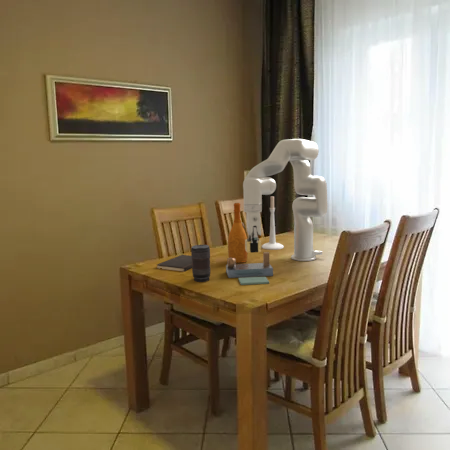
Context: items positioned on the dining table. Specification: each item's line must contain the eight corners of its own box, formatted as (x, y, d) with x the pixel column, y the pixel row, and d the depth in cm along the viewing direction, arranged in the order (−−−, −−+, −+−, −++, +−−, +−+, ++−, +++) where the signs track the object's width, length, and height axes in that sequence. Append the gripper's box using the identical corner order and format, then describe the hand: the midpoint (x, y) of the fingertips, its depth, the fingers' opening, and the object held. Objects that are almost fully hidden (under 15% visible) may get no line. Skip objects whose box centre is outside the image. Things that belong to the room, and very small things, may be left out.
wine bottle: (246, 264, 220) (245, 203, 215) (226, 263, 222) (225, 203, 217) (249, 259, 229) (248, 201, 225) (230, 258, 231) (229, 201, 227)
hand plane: (268, 269, 208) (268, 250, 207) (273, 275, 198) (272, 254, 197) (226, 271, 206) (225, 252, 205) (228, 277, 196) (228, 256, 195)
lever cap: (259, 249, 191) (259, 237, 190) (261, 251, 186) (261, 239, 185) (245, 249, 190) (245, 237, 189) (246, 252, 185) (246, 239, 184)
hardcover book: (156, 269, 216) (156, 264, 216) (182, 258, 236) (182, 254, 236) (184, 272, 209) (184, 268, 208) (208, 261, 229) (208, 257, 228)
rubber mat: (265, 278, 195) (265, 276, 194) (269, 283, 187) (269, 281, 187) (238, 279, 193) (238, 277, 193) (240, 285, 186) (240, 283, 185)
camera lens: (192, 277, 198) (190, 244, 196) (210, 276, 199) (209, 244, 196) (192, 282, 190) (191, 248, 188) (211, 282, 191) (210, 247, 188)
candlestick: (287, 246, 259) (287, 195, 255) (277, 250, 249) (277, 197, 244) (267, 244, 266) (267, 194, 261) (257, 248, 256) (257, 196, 251)
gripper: (265, 210, 177) (265, 254, 180) (258, 205, 194) (258, 246, 197) (246, 210, 176) (247, 255, 179) (241, 206, 193) (241, 247, 196)
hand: (253, 250), depth 188 cm, fingers closed on lever cap, 5 cm apart
